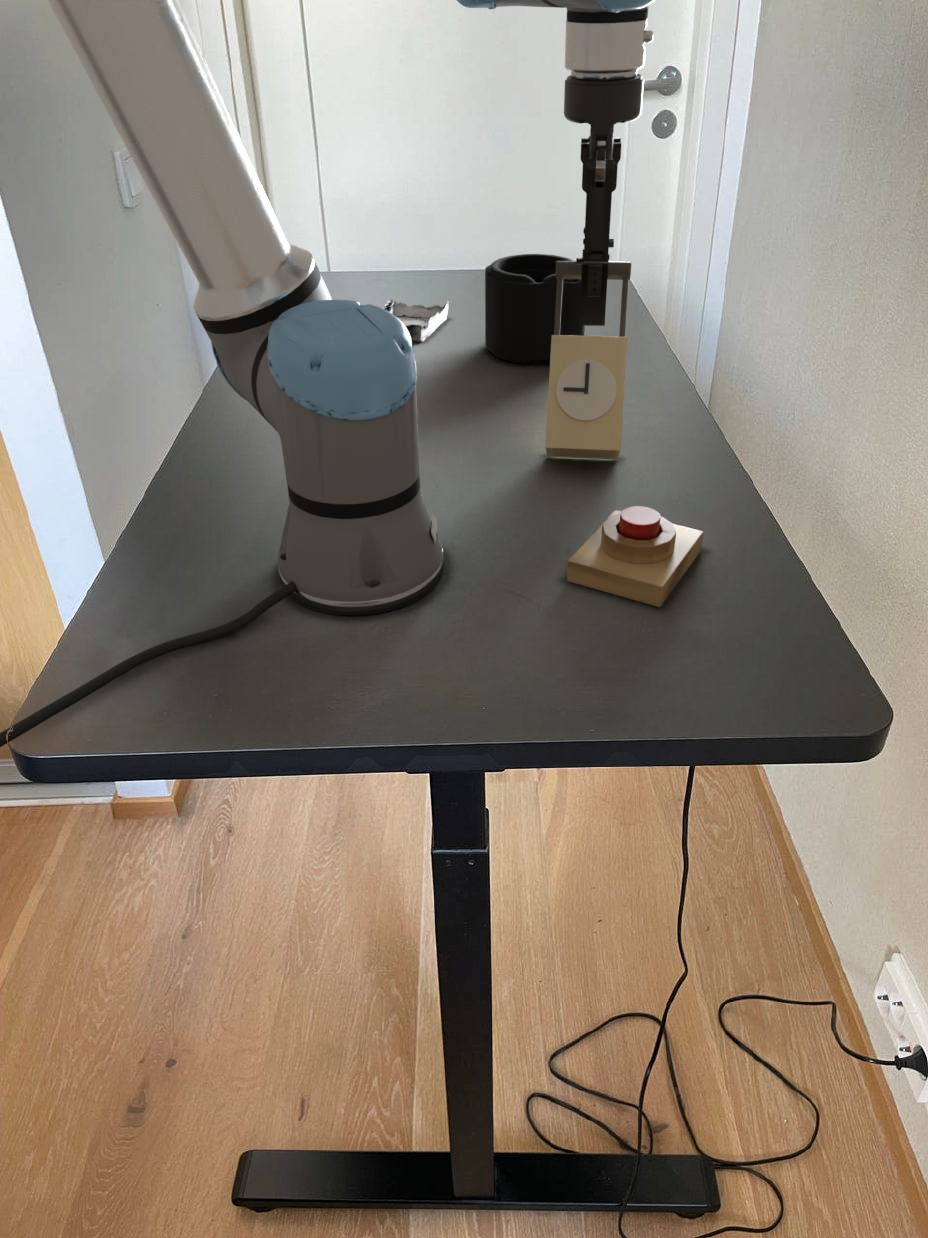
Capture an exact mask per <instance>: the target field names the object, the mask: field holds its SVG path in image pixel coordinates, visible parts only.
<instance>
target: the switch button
mask: <svg viewBox="0 0 928 1238" xmlns="http://www.w3.org/2000/svg"><path fill="white" fill-rule="evenodd" d="M660 516H661V514H660V513H659V512H658V511H657V510H655V509H654V508H651V507H647V506H642V505H641V506H640V505H639V506H638V505H637V506H629V507H626V508H624V509H623V510H622V512H621V514H620V524H619V533H620V534H621V535H622V536H624V537H626V538H630V539H634V540H651V539H654V538H656V537H657V536H658V534H659V527H660V519H661V517H662V516H661V517H660Z"/></svg>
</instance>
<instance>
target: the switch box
mask: <svg viewBox="0 0 928 1238" xmlns="http://www.w3.org/2000/svg"><path fill="white" fill-rule="evenodd" d="M622 511H623V510H622ZM622 511H621V510H617V509H614V510H613V511H612V513H611V514H609V516H608V517H607V518H606V519H605V520H604V521H603V522H602V523H601V525H600V526H599V527H598V528H597V529H596V530H595V531H594V532H593V533H592V534H591V535H590V537H588V538H587V540H586V541H585V542H584V543H583V544H582V545H581V546H580V547H579V548H578V549H577V550H576V552H574V553H573V555H572V556H571V557H570V558H569V559H568V560H567V568H566V569H567V571H566V572H567V573H566V581H567V582H568V583H573V584H576V585H578V586H579V585H580V586H583V587H587V588H591V589H594V590H597V591H600V592H604V593H608V594H611V595H614V596H619V597H622V598H624V599H625V598H626V599H628V600H632V601H635V602H639V603H643V604H647V605H650V606H654V607H657V608H661V607H662V606H663V604H664V603H665V601H666V600H667V599H668V597H669V596H670V595H671V593H672V592H673V590H674V589H675V588H676V586H677V585H678V583H679V582H680V581H681V579H682V578H683V577H684V575H685V574H686V573H687V571H688V570H689V568H690V567H691V566H692V564H693V563H694V561H695V559H697V557H698V556H699V555H700V554H701V552H702V546H703V539H704V533H705V531H703V530H699V529H695V528H691V527H688V526H683V525H679V524H675V523H673V522H671V521H669V520H668V519H666V518H665V517H663V516H661V515H660V517H661V519H660V527H659V534H658V536H657V537H656V538H654V539H651V540H634V539H630V538H626V537H624V536H622V535H621V534H620V533H619V524H620V514H621V512H622Z"/></svg>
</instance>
